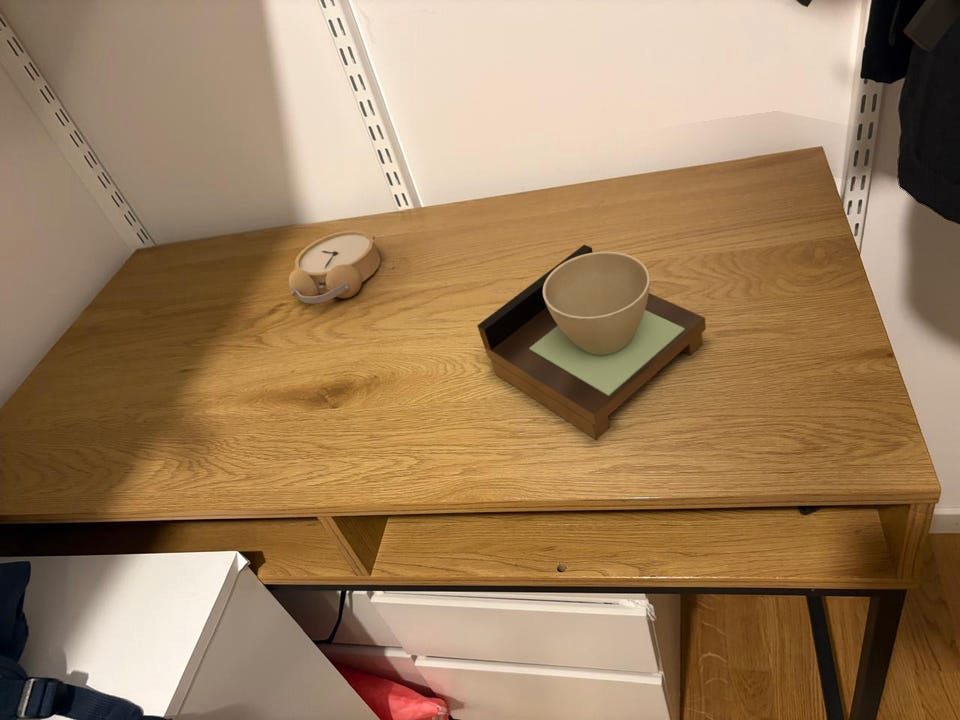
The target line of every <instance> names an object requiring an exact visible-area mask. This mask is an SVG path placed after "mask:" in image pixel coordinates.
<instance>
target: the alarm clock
mask: <svg viewBox="0 0 960 720" xmlns="http://www.w3.org/2000/svg"><path fill="white" fill-rule="evenodd" d="M375 239H376V236H375V235H371V234H370V233H368V232H367V231H364V230H359V229H356V230H355V229H354V230H353V229H352V230H343V231H337V232H334V233H331V234H328V235H325V236H323V237H321V238H319V239H317V240H315V241H312V242H311V243H310V244H308V245H307V246H306V247H304V248H302V250H301V252H299V254H298V255H297V256H296V258H295V261H294V270H293V271H292V272H291V273H290V275H289V278H288V283H289V284H288V285H289V288H290V290H291V291H290V294H291V296H296V297H297V298H298V299H299V300H300V301H301V302H302V303H304V304H311V305H312V304H313V305H314V304H320V303H324V302H327V301H330V300H333V299H334V298H336V297H337V298H339V299H349V298H351V297H353V296H355V295H356V294H357V293H358V292H359V291H360V289H361V288H362V283H363V282H365V281H366V280H367V279H369V278H370V277H371V276H372V275H374V274H375V272H376V271H377V270H378V268H379V267H380V264H381V263H380V262H381V257H380V255H379V252H378V250H377V248H376V245H375V241H374V240H375Z"/></svg>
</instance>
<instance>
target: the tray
mask: <svg viewBox="0 0 960 720" xmlns="http://www.w3.org/2000/svg"><path fill="white" fill-rule="evenodd" d="M588 253H594V252H593V248H592V247H591V246H589V245H586V244H583V245H582V246H580V247H578V249H576V250H575V251H574V252H572V253H571V254H570V255H568V256H566V258H564V259H563V260H561V262H559V263H558V264H556V265H555V266H554V267H553V268H551V269H550V270H549V271H547V272H545V274H543V275H542V276H540V277H539V278H538V279H537V280H535V281H534V282H532V283H531V284H530V285H529V286H527V287H526V288H524V290H522V291H521V292H520V293H518V294H516V296H514V297H512V298H511V299H509V301H507V302H506V303H504V305H502V306H501V307H499V308H498V309H497V310H495V311H494V312H493V313H492V314H490V315H489V316H488V317H486V318H485V319H484V320H482V321H481V322H480V323H479V324H476V325H477V329H478V332H479V335H480V338H481V341H482V344H483V347H484V350H485V353H486V356H487V358H489V359H490V361H491V364H492V368H493V370H494V373H495V375H496V376H497V377H499V378H500V379H502V380H504V381H505V382H507V383H508V384H510V385H511V386H513V387H514V388H516V389H517V390H519V391H520V392H522V393H524V394H525V395H527V396H528V397H530V398H531V399H532V400H534V401H536V402H537V403H539V404H541V406H543V407H545V408H546V409H547V410H550V411H551V412H553V414H556V415H557V416H559V417H560V418H562V419H563V420H565V421H566V422H568V423H569V424H571V425H573V426H574V427H575V428H577V429H579V430H580V431H582V433H585V434H587V435H588V436H589V437H591V438H592V439H594V440H598V439H599V438H600V437H601V436H603V435H604V434H605V433H606V432H607V431H608V430H609V429H610V428H611V425H610V419H609V416H610V415H611V414H612V413H613V412H614V411H615V410H616V409H617V408H619V407H620V406H621V405H622V404H623V403H625V402H626V401H627V400H628V399H629V398H630V397H631V396H632V395H633V394H635V393H636V392H637V391H638V390H639V389H640V388H641V387H642V386H644V384H646V383H647V382H648V381H649V380H650V379H651V378H652V377H653V376H655V375H656V374H657V373H658V372H659V371H661V369H663V368H664V367H665V366H666V365H667V364H669V363H670V362H671V361H672V360H673V359H674V358H675V357H676V356H677V355H678V354H680V353H681V352H682V353H685V354H687V356H692V355H693V354H695V352H696V351H697V350H698V349H700V348H701V347H702V346H703V343H704V342H703V332H705V330H706V329H707V328H706V317H705V316H702V315H700V314H698V313H695V312H694V311H691V310H688V309H686V308H684V307H682V306H680V305H677V304H675V303H673V302H670V301H668V300H666V299H664V298H662V297H659V296H657V295H655V294H652V293H650V292H649V294H648V300H647V304H646V308H645V312H644V315H643V317H642V320H641V322H640V324H639V326H638V328H637V330H636V332H635V334H634V335H633V337H632V338H631V340H630V341H629V342H628V344H627V345H626V346H625V347H624V348H622V349H621V350H619V351H618V352H615V353H613V354H609V355H594V354H590V353H588V352H586V351H584V350H583V349H581V348H580V347H579V346H577V345H576V344H575V343H574V342H572V341H571V340H570V339H569V338H568V337H567V336H566V335H565V333H564V332H563V331H562V330H561V329H560V327H559V326H558V325H557V323H556V322H555V320H554V318H553V317H552V315H551V313H550V311H549V309H548V307H547V305H546V303H545V300H544V297H543V286H544V283H545V281H546V279H547V277H548V276H549V275H550V274H551V272H552V271H553V270H555V269H556V268H557V267H558V266H559V265H561V264H563V263H564V262H566V261H568V260H570V259H572V258H575V257H577V256H581V255H584V254H588Z"/></svg>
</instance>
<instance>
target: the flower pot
mask: <svg viewBox="0 0 960 720" xmlns="http://www.w3.org/2000/svg"><path fill="white" fill-rule="evenodd" d="M650 283H651V280H650V272H649V270H648V268H647V267H646V265H645V264H644V263H643V262H642V261H640V259H638V258H636V257H635V256H632V255H630V254H627V253H623V252H619V251H596V252H593V253H588V254H584V255H581V256H577V257H575V258H572V259H570V260H568V261H566V262H564V263H563V264H561V265H559V266H558V267H557V268H556V269H555V270H553V271H552V272H551V274H550V275H549V276H548V277H547V279H546V281H545V283H544V286H543V297H544V300H545V303H546V305H547V307H548V309H549V311H550V313H551V315H552V317H553V318H554V320H555V322H556V323H557V325H558V326H559V327H560V329H561V330H562V331H563V332H564V333H565V335H566V336H567V337H568V338H569V339H570V340H571V341H572V342H574V343H575V344H576V345H577V346H579V347H580V348H581V349H583V350H584V351H586V352H588V353H590V354H594V355H609V354H613V353H615V352H618V351H619V350H621V349H622V348H624V347H625V346H626V345H627V344H628V342H629V341H630V340H631V338H632V337H633V335H634V334H635V332H636V330H637V328H638V326H639V324H640V322H641V320H642V317H643V315H644V312H645V308H646V304H647V300H648V294H649V293H650Z"/></svg>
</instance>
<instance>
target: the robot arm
mask: <svg viewBox="0 0 960 720" xmlns="http://www.w3.org/2000/svg"><path fill="white" fill-rule="evenodd" d="M795 1H796V2H797V3H798V4H800V5H801V6H802V7H806V8H808V7H809V6H810V4H811V3H812V1H813V0H795ZM959 15H960V0H925V1H924V2H923V4H921V6H920V7H919V9H918V11H917V12H916V13H915V14H914V16H913V17H912V18H911V20H910V21H909V22H908V23H907V25H906V26H905V28H904V29H903V31H902V32H903V33H904V34H905V35H906V36H907V37H908V38H909V39H910V40H911V41H913V42H914V43H915V44H916V45H917V46H919V47H920V48H921V50H924V51H927V52H932V51H933V50H934V48H935V47H936V45H937V44H938V43H939V42H940V41H941V39H942V38H943V37H944V35H945V34H946V32H947V31H948V30H949V28H951V26H952V25H953V23H954V22H955V21H956V19H957V18H958V17H959Z"/></svg>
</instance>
